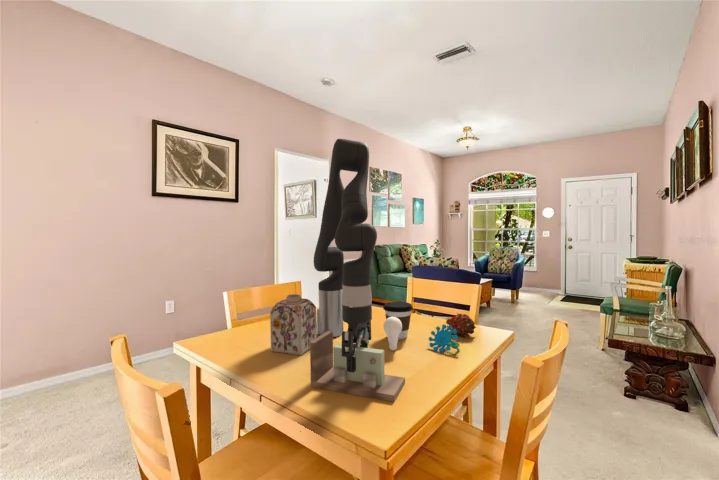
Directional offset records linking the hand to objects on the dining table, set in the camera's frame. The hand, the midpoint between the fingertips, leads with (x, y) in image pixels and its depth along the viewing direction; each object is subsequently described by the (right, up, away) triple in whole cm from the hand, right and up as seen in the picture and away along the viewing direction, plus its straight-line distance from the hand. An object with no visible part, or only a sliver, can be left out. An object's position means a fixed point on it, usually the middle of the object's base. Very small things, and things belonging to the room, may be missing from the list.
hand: (357, 364), depth 87 cm
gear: (+28, -4, +24) cm, 38 cm away
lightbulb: (+11, -4, +25) cm, 28 cm away
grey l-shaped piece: (0, -5, 0) cm, 5 cm away
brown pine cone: (+38, -4, +40) cm, 55 cm away
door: (0, -4, 0) cm, 4 cm away
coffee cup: (+15, -4, +38) cm, 41 cm away
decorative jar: (-22, -5, +28) cm, 36 cm away
